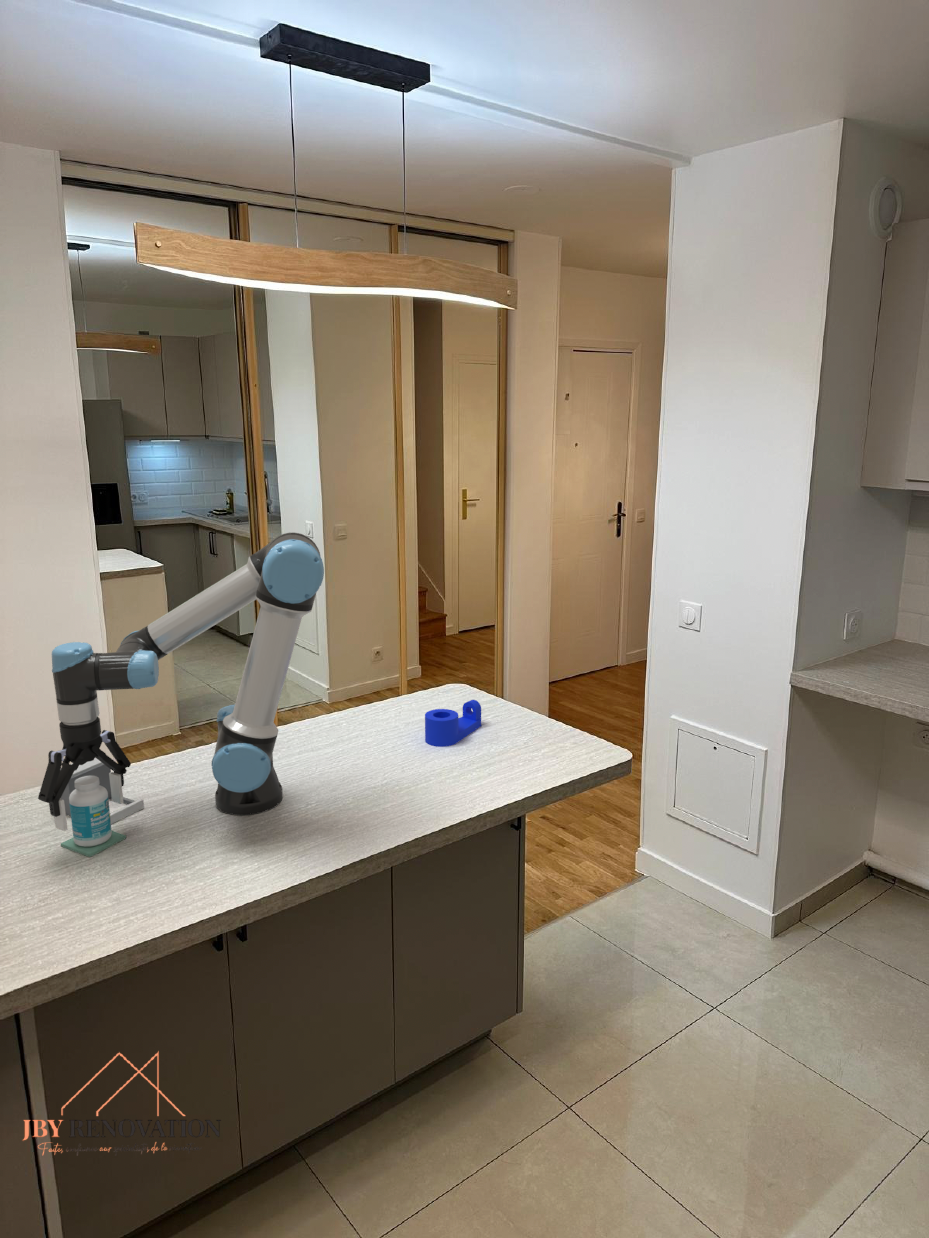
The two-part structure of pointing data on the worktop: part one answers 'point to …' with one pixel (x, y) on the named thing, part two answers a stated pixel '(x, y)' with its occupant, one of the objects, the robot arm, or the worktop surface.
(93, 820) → the pill bottle
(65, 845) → the mat
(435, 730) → the bracket
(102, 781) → the grey open frame
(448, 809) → the worktop surface
